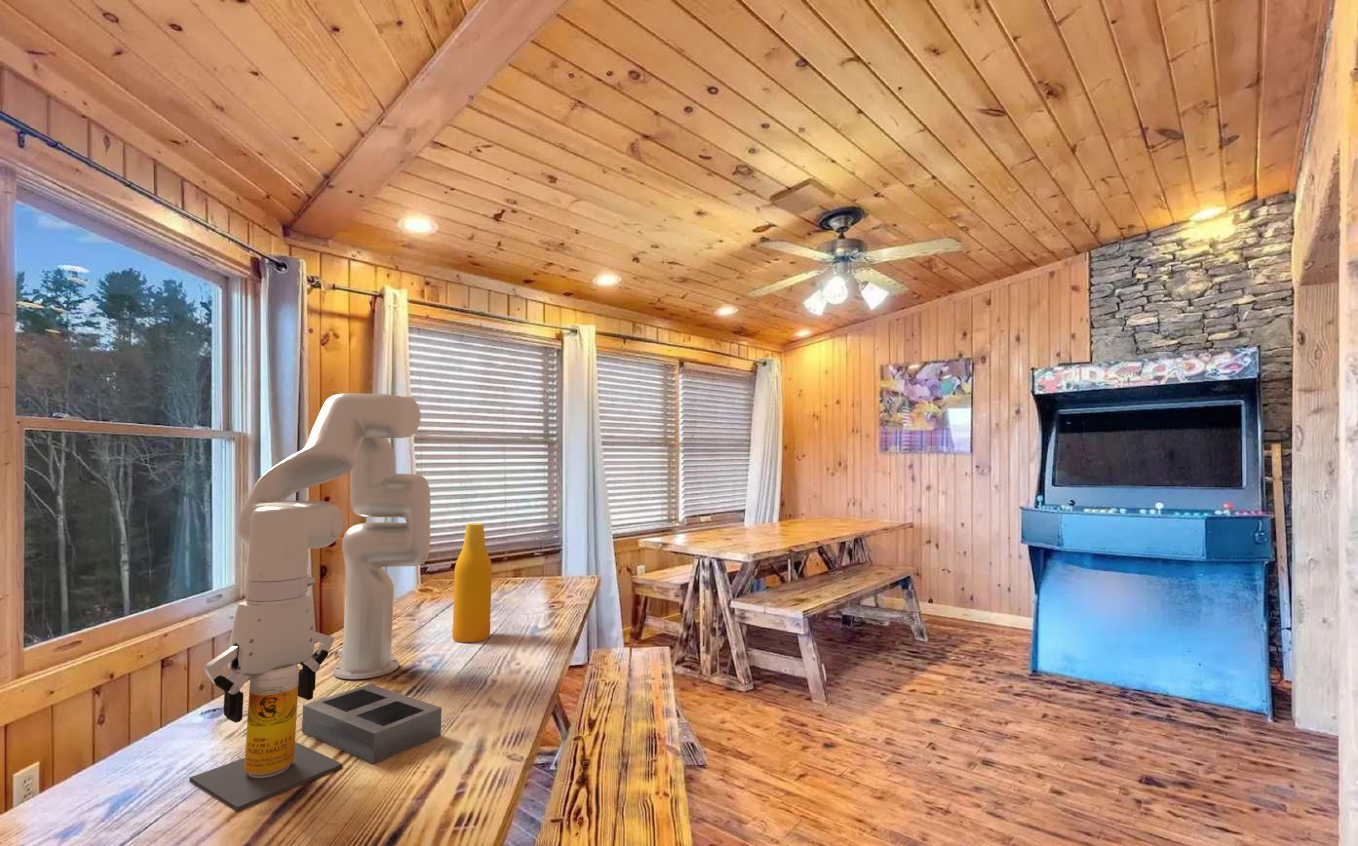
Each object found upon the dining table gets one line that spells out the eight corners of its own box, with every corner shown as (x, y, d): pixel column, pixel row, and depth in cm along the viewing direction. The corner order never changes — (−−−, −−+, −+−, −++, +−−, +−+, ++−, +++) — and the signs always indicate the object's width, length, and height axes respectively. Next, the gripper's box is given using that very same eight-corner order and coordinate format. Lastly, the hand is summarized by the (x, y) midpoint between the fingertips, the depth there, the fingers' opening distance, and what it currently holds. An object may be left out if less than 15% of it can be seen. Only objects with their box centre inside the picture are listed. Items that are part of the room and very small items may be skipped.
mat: (189, 780, 89) (189, 777, 89) (292, 743, 101) (292, 740, 101) (237, 810, 82) (237, 806, 82) (342, 766, 94) (342, 763, 94)
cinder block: (301, 732, 105) (303, 704, 105) (369, 708, 115) (370, 683, 116) (373, 764, 95) (374, 733, 95) (440, 734, 105) (441, 707, 105)
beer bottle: (483, 643, 157) (487, 526, 158) (446, 642, 157) (450, 525, 158) (494, 633, 166) (498, 522, 167) (459, 632, 166) (463, 522, 168)
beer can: (240, 783, 88) (247, 673, 88) (247, 764, 93) (253, 660, 94) (291, 774, 90) (297, 667, 91) (295, 756, 96) (301, 655, 97)
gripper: (321, 577, 102) (316, 685, 101) (196, 597, 88) (189, 723, 87) (348, 583, 98) (343, 695, 97) (222, 604, 84) (214, 736, 83)
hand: (271, 708), depth 92 cm, fingers open, 9 cm apart
